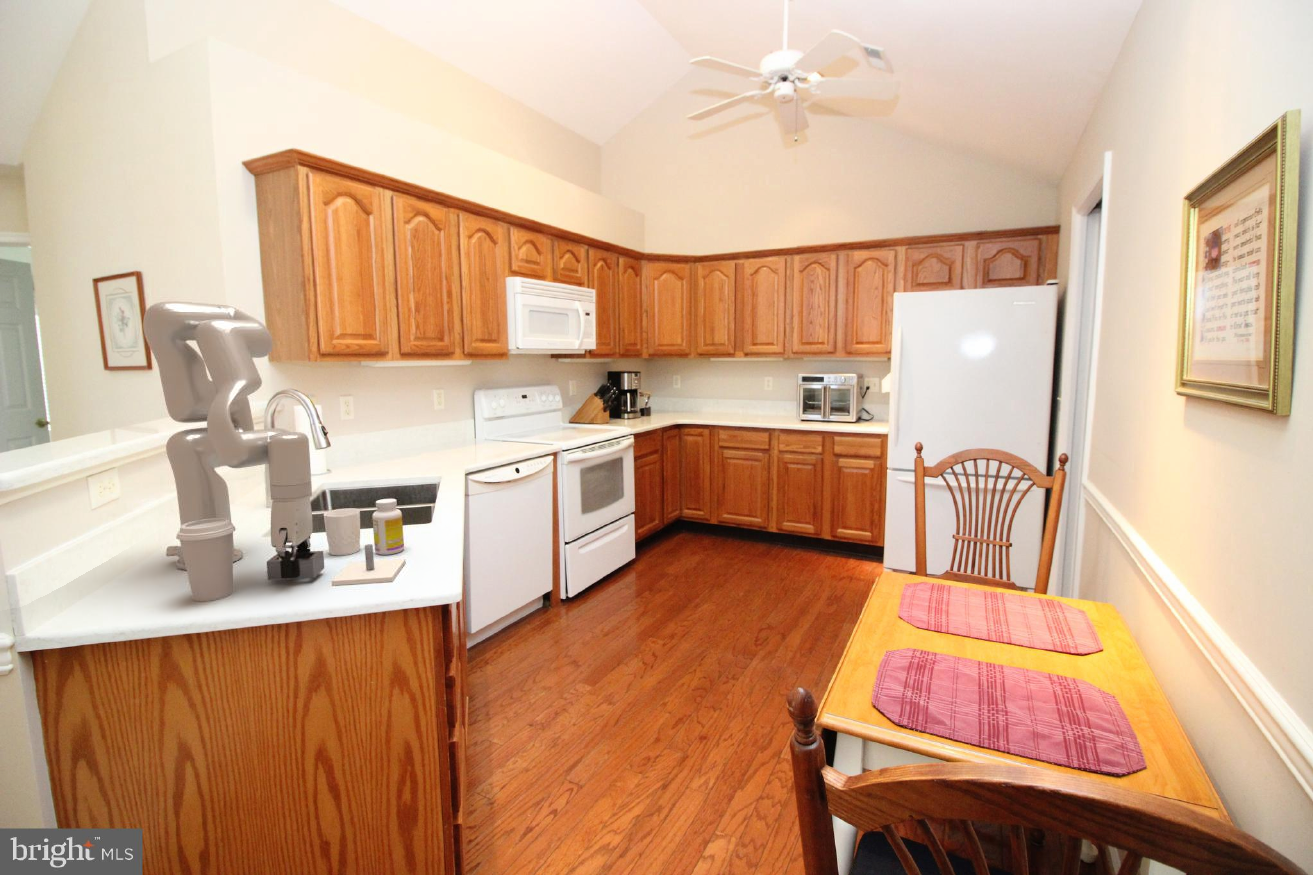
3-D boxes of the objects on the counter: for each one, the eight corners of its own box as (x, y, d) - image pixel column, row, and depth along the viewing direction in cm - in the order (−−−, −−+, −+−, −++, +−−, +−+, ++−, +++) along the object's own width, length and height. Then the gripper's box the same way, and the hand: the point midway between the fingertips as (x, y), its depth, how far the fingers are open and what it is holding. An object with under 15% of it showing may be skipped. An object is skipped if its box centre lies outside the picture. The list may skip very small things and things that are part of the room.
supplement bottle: (409, 547, 152) (406, 497, 150) (395, 556, 146) (392, 504, 144) (384, 546, 153) (380, 497, 151) (369, 555, 146) (365, 503, 144)
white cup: (369, 548, 152) (366, 509, 150) (344, 558, 144) (341, 517, 143) (345, 545, 154) (342, 507, 153) (319, 554, 147) (315, 514, 146)
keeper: (331, 585, 127) (329, 555, 126) (350, 566, 138) (348, 538, 137) (392, 581, 129) (390, 552, 128) (405, 563, 140) (403, 536, 139)
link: (267, 579, 127) (266, 561, 126) (280, 569, 133) (279, 552, 132) (314, 578, 128) (312, 560, 128) (324, 568, 134) (323, 550, 134)
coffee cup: (242, 583, 129) (235, 514, 127) (241, 597, 121) (233, 524, 119) (186, 592, 123) (178, 521, 121) (180, 608, 115) (171, 532, 113)
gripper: (289, 482, 136) (294, 558, 138) (252, 501, 119) (258, 588, 121) (325, 481, 137) (329, 557, 139) (293, 500, 120) (299, 586, 123)
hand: (296, 571), depth 130 cm, fingers closed on link, 6 cm apart
